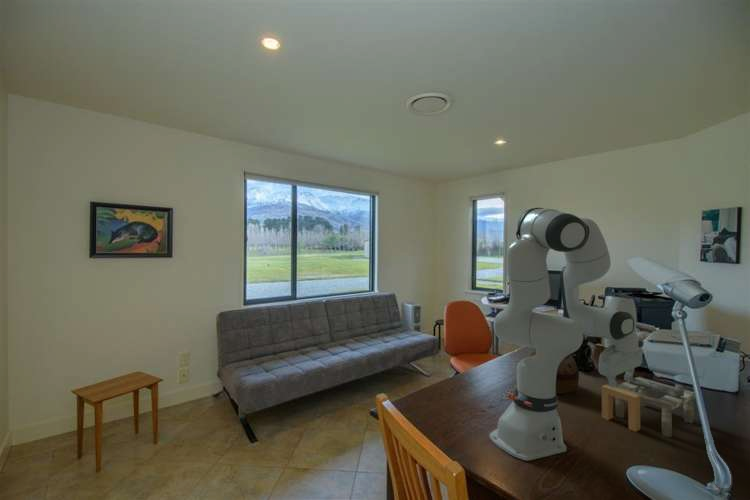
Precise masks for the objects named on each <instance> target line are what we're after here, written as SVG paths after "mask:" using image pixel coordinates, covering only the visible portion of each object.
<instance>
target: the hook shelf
mask: <svg viewBox="0 0 750 500" xmlns="http://www.w3.org/2000/svg"><path fill="white" fill-rule="evenodd" d="M616 388H619V389H622V390H625V391H628V392H631V393H634V394H637V395H640V407H644V408H645V407H647V406H648V404H651V405H653V406H656V407H659V408H661V435H663V437H667V438H671V437H672V436H673V423H672V422H673V416H672V415H673V414H672V413H673V410H675V409H677V408H679V407H680V406H683V421H684V423H685V422H686V423H688V422H689V424H694V423H693V422H694V418H695V417H694V416H695V415H694V399H695V394H696V393H695V392H693V391H690V390H686V389H685V387H684V385H682V384H675V386H672V385H669V384H665V383H661V382H659V381H655V380H652V379H648V378H644V377H642V376H637V377H635V378H634V375H633V376H632V381H625V382H622V383H619V384H617V387H616ZM648 389H649V390H652V391H655V392H658V393H662V394H664V396H662V397H660V398H656V397H652V396H650V395H648V393H647V392H648V391H647V390H648ZM694 393H695V394H694ZM614 397H615V396H614ZM615 416H616V417H618V418H620V419H624V418H625V400H623V399H620V398H617V397H615Z"/></svg>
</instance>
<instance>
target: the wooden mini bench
mask: <svg viewBox="0 0 750 500" xmlns="http://www.w3.org/2000/svg"><path fill="white" fill-rule="evenodd" d="M614 397H617V398H620V399H623V400H624V401H625V402H627V404H628V405H627V406H628V407H627V408H628V409H627V410H628V413H627V414H628V415H627V416H628V422H627V423H628V424H627V425H628V429H629V430H631V431H633V432H635V433H636V432H638V431H640V430H641V406H640V395H637V394H634V393H631V392H628V391H625V390H622V389H619V388H612V387H610V386H609V384H604V385H601V418H602V419H604V420H606V421H609V420H612V419H614V408H613V407H614V402H613V401H614V399H613V398H614Z"/></svg>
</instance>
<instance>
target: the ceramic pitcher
mask: <svg viewBox="0 0 750 500" xmlns="http://www.w3.org/2000/svg"><path fill="white" fill-rule="evenodd" d="M535 355H536V349H535V348H534V350H533V351H532V352H531V353H530V355H529V357H531V356H535ZM579 380H580V373H579V370H578V368H577V365H576V362H575V360H574V359H573V357H572V356H571V354H569V355H568V356H566V357H565V358H564V359H563V360H562V361H561V363H560V364H559V366H558V369H557V374H556V394H567V393H571V392H574V391H575V390H576V389H577V388H578V386H579Z"/></svg>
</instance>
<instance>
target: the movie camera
mask: <svg viewBox="0 0 750 500" xmlns="http://www.w3.org/2000/svg"><path fill="white" fill-rule="evenodd" d="M589 343H590V344H592V345H594V346H597V345H598V344H600V345H602V343H603V340H602V337H596V336H591V335H587V334H583V342H582V344H581V346H580V348H579V349H578V350H576V351H575V352H573V353H571V356H572V357H573V359H574V360H575V362H576V365H577V368H578V371H582V372H594V371H595V370H596V369H595V368H596V365H595V361H594V360H593V359H592V355H593V351H592V348H591V345H589Z"/></svg>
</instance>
